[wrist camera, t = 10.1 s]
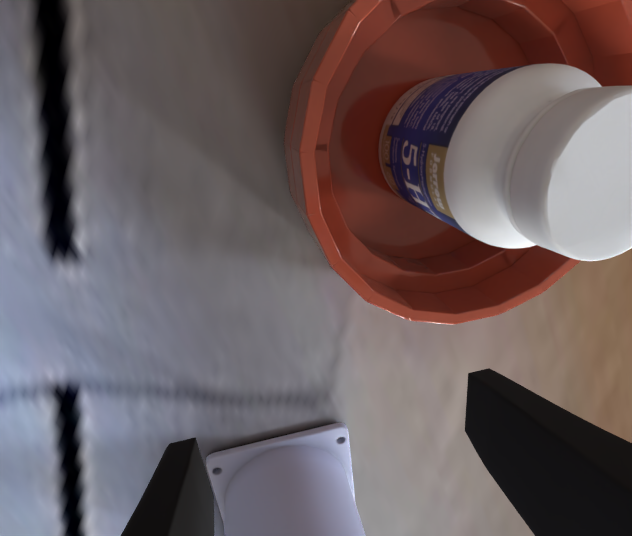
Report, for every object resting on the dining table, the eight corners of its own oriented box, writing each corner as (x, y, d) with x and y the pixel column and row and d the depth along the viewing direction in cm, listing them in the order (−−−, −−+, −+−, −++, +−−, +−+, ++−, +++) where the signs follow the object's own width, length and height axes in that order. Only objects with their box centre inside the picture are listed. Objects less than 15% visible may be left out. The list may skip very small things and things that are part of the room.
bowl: (539, 255, 21) (614, 290, 17) (302, 300, 19) (323, 353, 15) (578, -41, 16) (700, -94, 12) (259, -19, 14) (272, -72, 10)
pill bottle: (350, 143, 16) (472, 177, 8) (446, 47, 15) (683, -20, 7) (422, 228, 18) (575, 323, 10) (509, 147, 18) (745, 180, 10)
